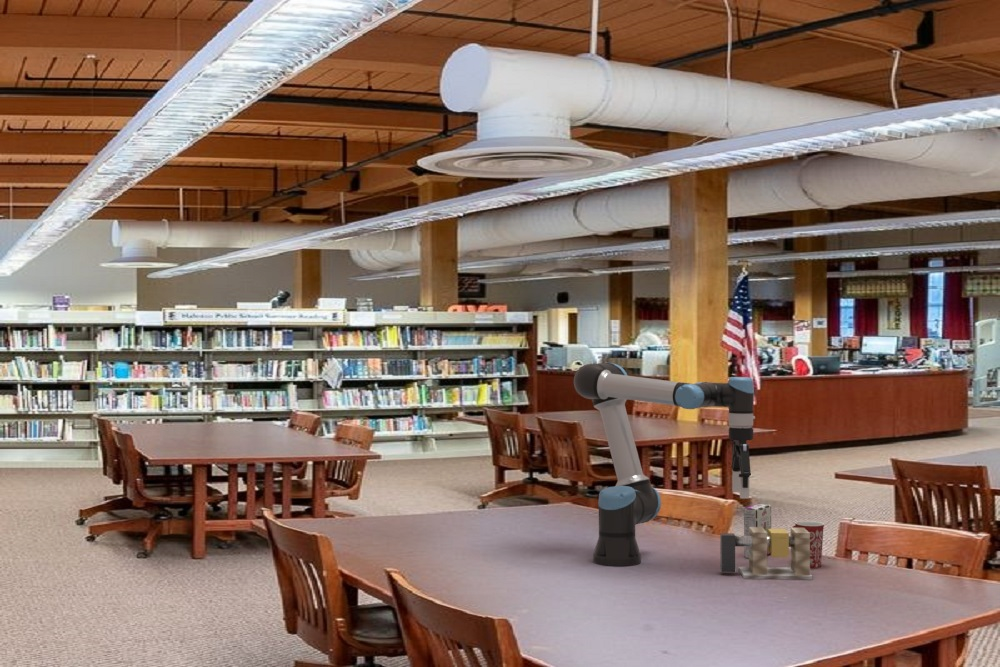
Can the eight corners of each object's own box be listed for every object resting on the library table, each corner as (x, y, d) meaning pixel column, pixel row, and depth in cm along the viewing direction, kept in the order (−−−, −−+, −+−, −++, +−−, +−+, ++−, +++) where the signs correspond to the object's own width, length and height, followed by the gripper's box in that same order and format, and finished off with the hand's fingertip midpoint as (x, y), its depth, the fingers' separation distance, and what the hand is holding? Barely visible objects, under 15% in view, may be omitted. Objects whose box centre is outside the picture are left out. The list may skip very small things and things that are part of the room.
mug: (830, 567, 369) (830, 524, 369) (806, 569, 366) (806, 526, 366) (805, 560, 381) (805, 518, 381) (781, 562, 377) (781, 520, 377)
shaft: (721, 572, 357) (721, 535, 358) (720, 569, 361) (720, 533, 361) (802, 573, 356) (802, 536, 356) (800, 570, 360) (800, 534, 360)
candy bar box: (758, 552, 394) (758, 503, 394) (772, 554, 391) (772, 504, 391) (743, 558, 385) (743, 507, 385) (757, 559, 382) (757, 508, 382)
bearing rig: (743, 578, 353) (743, 533, 353) (738, 570, 365) (738, 526, 366) (812, 579, 351) (812, 533, 351) (804, 570, 364) (804, 526, 364)
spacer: (771, 557, 354) (771, 533, 354) (767, 552, 362) (767, 528, 362) (788, 557, 354) (788, 533, 354) (784, 552, 362) (784, 529, 362)
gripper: (760, 430, 356) (760, 501, 356) (746, 423, 381) (745, 489, 381) (735, 430, 356) (735, 500, 356) (722, 423, 381) (722, 489, 381)
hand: (740, 495), depth 369 cm, fingers open, 13 cm apart
